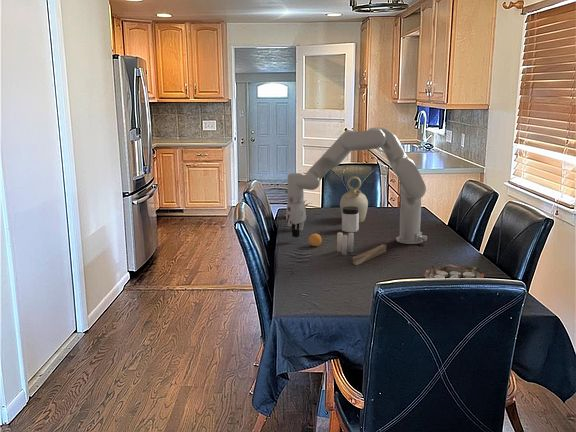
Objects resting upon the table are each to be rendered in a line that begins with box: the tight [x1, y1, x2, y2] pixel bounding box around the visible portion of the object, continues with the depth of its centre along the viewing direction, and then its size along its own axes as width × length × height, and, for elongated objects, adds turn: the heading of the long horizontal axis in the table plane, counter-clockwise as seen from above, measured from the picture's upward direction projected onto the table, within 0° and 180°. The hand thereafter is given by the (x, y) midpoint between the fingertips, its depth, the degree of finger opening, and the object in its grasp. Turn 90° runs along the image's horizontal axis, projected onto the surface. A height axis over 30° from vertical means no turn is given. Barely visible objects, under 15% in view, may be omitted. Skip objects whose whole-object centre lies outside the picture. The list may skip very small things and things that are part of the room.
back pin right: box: [347, 232, 355, 253], centre depth 238 cm, size 2×2×8 cm
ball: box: [308, 233, 323, 247], centre depth 248 cm, size 6×6×6 cm
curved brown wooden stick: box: [352, 244, 387, 266], centre depth 229 cm, size 2×24×3 cm, turn 140°
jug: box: [339, 175, 369, 223], centre depth 295 cm, size 15×16×25 cm
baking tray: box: [423, 264, 485, 279], centre depth 197 cm, size 30×22×5 cm
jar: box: [341, 206, 360, 233], centre depth 274 cm, size 9×8×12 cm
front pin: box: [336, 232, 344, 253], centre depth 239 cm, size 2×2×8 cm
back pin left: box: [341, 234, 348, 256], centre depth 234 cm, size 2×2×8 cm
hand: (295, 236), depth 255 cm, fingers closed
